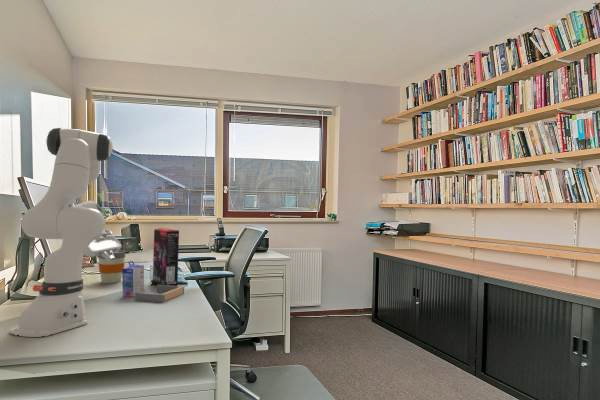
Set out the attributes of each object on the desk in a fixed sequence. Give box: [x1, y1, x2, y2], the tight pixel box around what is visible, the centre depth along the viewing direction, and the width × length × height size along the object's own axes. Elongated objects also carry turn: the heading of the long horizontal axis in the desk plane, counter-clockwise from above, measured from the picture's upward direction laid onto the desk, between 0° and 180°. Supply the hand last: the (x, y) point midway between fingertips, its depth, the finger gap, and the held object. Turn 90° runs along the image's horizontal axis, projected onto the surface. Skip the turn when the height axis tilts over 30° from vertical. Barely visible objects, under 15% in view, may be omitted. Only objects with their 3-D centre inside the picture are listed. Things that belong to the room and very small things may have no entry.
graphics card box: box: [152, 227, 180, 286], centre depth 201 cm, size 17×7×27 cm, turn 40°
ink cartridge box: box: [121, 260, 145, 298], centre depth 180 cm, size 10×6×14 cm, turn 174°
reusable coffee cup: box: [97, 249, 126, 284], centre depth 206 cm, size 13×13×15 cm
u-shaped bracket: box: [134, 284, 185, 303], centre depth 177 cm, size 17×13×3 cm
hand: (112, 259), depth 183 cm, fingers closed
